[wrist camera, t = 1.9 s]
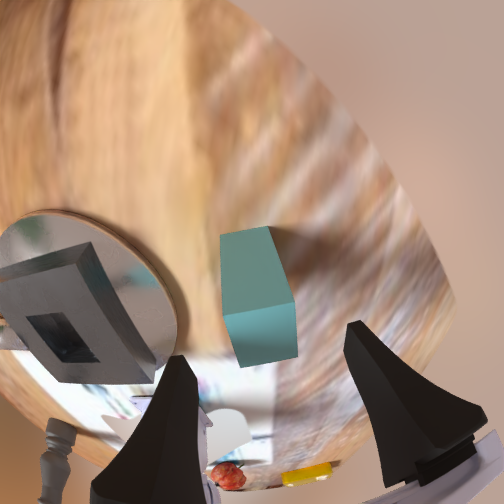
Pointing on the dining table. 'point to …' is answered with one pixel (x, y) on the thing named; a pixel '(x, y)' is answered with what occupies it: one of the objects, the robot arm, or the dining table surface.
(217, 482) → the pomegranate
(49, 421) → the candle holder
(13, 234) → the rosette bracket
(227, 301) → the teal rectangular prism
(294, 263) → the dining table surface
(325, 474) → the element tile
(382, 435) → the robot arm
